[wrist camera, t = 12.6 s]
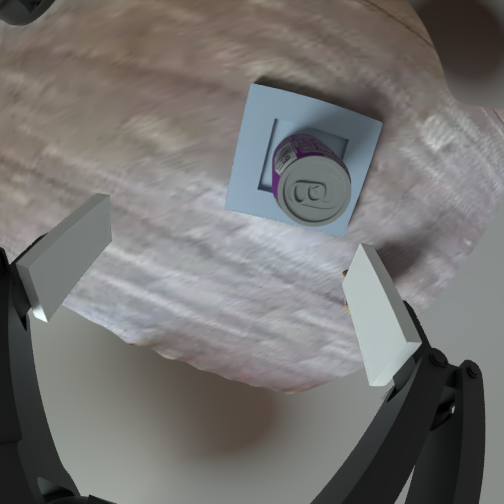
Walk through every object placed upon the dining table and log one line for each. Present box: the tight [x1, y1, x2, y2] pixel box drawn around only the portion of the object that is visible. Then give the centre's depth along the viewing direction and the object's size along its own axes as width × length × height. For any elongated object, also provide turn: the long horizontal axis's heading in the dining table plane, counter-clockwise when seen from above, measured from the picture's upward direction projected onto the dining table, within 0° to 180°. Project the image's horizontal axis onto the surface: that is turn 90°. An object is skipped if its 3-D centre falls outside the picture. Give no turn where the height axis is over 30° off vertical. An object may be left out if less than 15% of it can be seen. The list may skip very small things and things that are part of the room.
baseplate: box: [224, 83, 383, 237], centre depth 32 cm, size 16×16×2 cm
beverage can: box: [272, 134, 351, 227], centre depth 27 cm, size 7×7×12 cm
